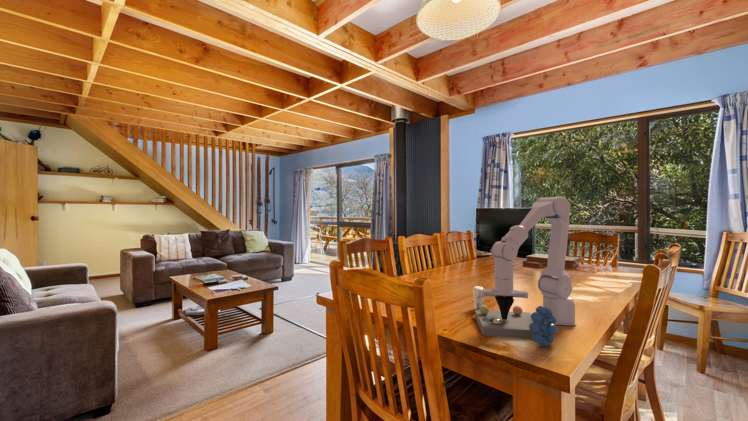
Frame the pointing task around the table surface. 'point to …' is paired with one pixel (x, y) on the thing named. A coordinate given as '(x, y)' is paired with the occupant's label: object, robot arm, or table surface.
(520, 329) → the board
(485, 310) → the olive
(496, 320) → the steel ball
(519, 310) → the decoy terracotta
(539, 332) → the grapes
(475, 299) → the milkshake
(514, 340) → the table surface
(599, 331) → the table surface
